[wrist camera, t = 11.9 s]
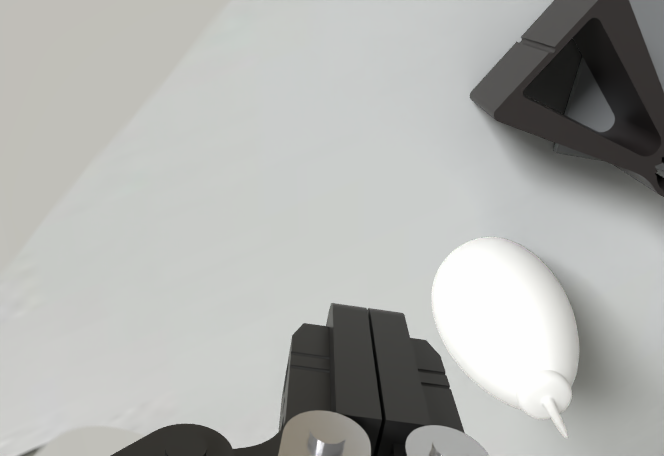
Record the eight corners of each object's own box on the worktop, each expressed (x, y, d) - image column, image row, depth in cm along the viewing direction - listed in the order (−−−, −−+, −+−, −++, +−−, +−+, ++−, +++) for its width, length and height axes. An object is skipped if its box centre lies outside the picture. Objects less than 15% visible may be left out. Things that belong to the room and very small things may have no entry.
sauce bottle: (551, 269, 45) (688, 443, 28) (464, 332, 46) (543, 531, 30) (487, 191, 42) (594, 330, 26) (398, 261, 44) (444, 433, 28)
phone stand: (618, -22, 31) (760, 129, 34) (573, -21, 37) (699, 108, 40) (491, 115, 34) (634, 245, 37) (466, 96, 39) (592, 210, 42)
